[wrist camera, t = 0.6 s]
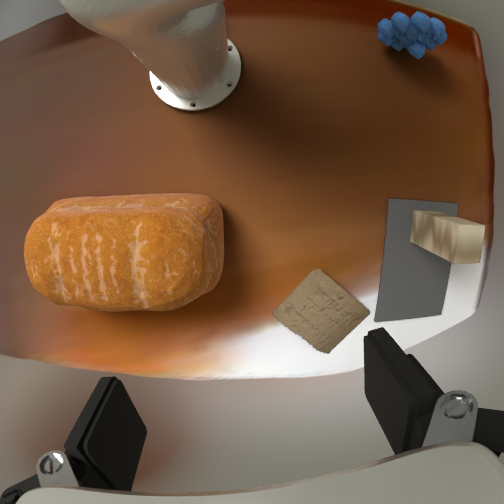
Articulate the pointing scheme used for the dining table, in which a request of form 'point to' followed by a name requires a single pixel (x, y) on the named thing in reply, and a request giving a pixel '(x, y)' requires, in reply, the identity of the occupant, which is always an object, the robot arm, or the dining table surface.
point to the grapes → (412, 33)
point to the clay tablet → (321, 311)
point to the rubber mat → (410, 266)
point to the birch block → (448, 236)
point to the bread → (127, 251)
